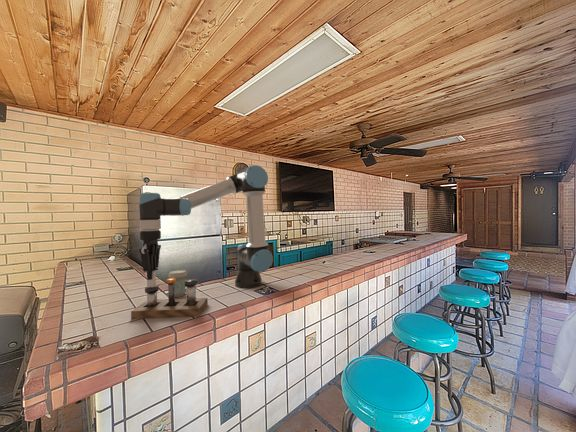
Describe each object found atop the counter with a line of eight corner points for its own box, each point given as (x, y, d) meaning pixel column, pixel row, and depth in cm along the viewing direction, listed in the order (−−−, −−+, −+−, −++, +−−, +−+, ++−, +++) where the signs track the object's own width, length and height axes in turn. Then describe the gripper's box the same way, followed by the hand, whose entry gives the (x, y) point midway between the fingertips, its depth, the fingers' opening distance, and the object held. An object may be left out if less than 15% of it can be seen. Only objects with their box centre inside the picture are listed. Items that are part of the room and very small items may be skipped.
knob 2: (199, 300, 102) (198, 278, 102) (195, 305, 97) (194, 282, 97) (187, 301, 102) (187, 279, 102) (182, 305, 97) (182, 282, 97)
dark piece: (177, 302, 101) (177, 278, 101) (174, 305, 98) (173, 280, 97) (169, 302, 101) (168, 278, 101) (165, 305, 97) (165, 280, 97)
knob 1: (161, 307, 101) (160, 285, 101) (155, 312, 96) (154, 288, 96) (149, 307, 101) (148, 285, 101) (142, 312, 96) (142, 289, 96)
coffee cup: (164, 297, 116) (164, 272, 116) (179, 291, 124) (179, 268, 123) (176, 299, 112) (175, 274, 112) (191, 294, 120) (190, 270, 119)
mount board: (207, 304, 106) (207, 297, 106) (199, 316, 94) (198, 308, 94) (147, 306, 104) (147, 299, 104) (131, 318, 92) (131, 311, 92)
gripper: (149, 229, 104) (150, 282, 105) (131, 231, 91) (132, 292, 92) (166, 228, 105) (167, 281, 105) (151, 231, 92) (152, 291, 92)
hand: (151, 286), depth 98 cm, fingers closed
